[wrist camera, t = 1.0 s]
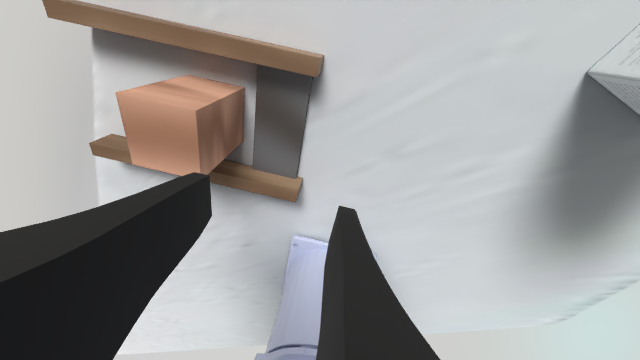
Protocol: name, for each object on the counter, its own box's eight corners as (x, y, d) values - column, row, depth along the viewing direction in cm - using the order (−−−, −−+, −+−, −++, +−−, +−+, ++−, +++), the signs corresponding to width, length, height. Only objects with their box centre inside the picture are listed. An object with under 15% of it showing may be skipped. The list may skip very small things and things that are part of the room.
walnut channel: (300, 188, 21) (295, 202, 19) (114, 145, 21) (93, 154, 19) (324, 55, 15) (319, 57, 14) (75, 0, 16) (41, -4, 14)
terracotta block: (243, 141, 19) (201, 180, 14) (193, 129, 19) (132, 164, 14) (244, 87, 17) (195, 110, 12) (188, 74, 17) (115, 92, 12)
